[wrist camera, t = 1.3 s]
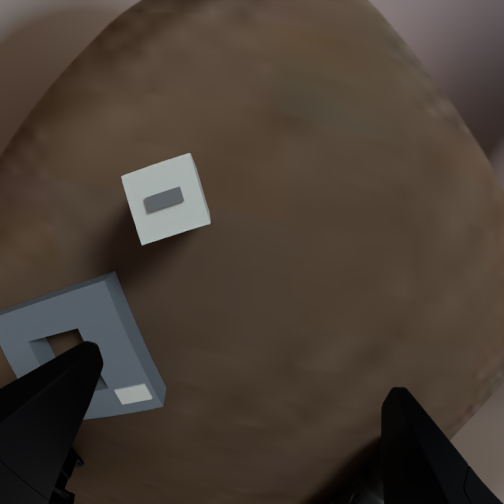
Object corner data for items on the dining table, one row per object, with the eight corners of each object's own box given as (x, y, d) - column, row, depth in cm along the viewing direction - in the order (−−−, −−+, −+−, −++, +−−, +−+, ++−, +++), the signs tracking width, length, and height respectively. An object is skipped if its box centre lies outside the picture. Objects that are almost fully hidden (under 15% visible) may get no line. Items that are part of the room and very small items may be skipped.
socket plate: (55, 407, 26) (45, 424, 23) (4, 309, 23) (-13, 320, 20) (166, 387, 27) (163, 408, 24) (115, 270, 24) (103, 281, 21)
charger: (162, 229, 24) (141, 246, 16) (148, 181, 23) (119, 176, 15) (209, 214, 25) (210, 223, 17) (195, 166, 24) (189, 152, 16)
